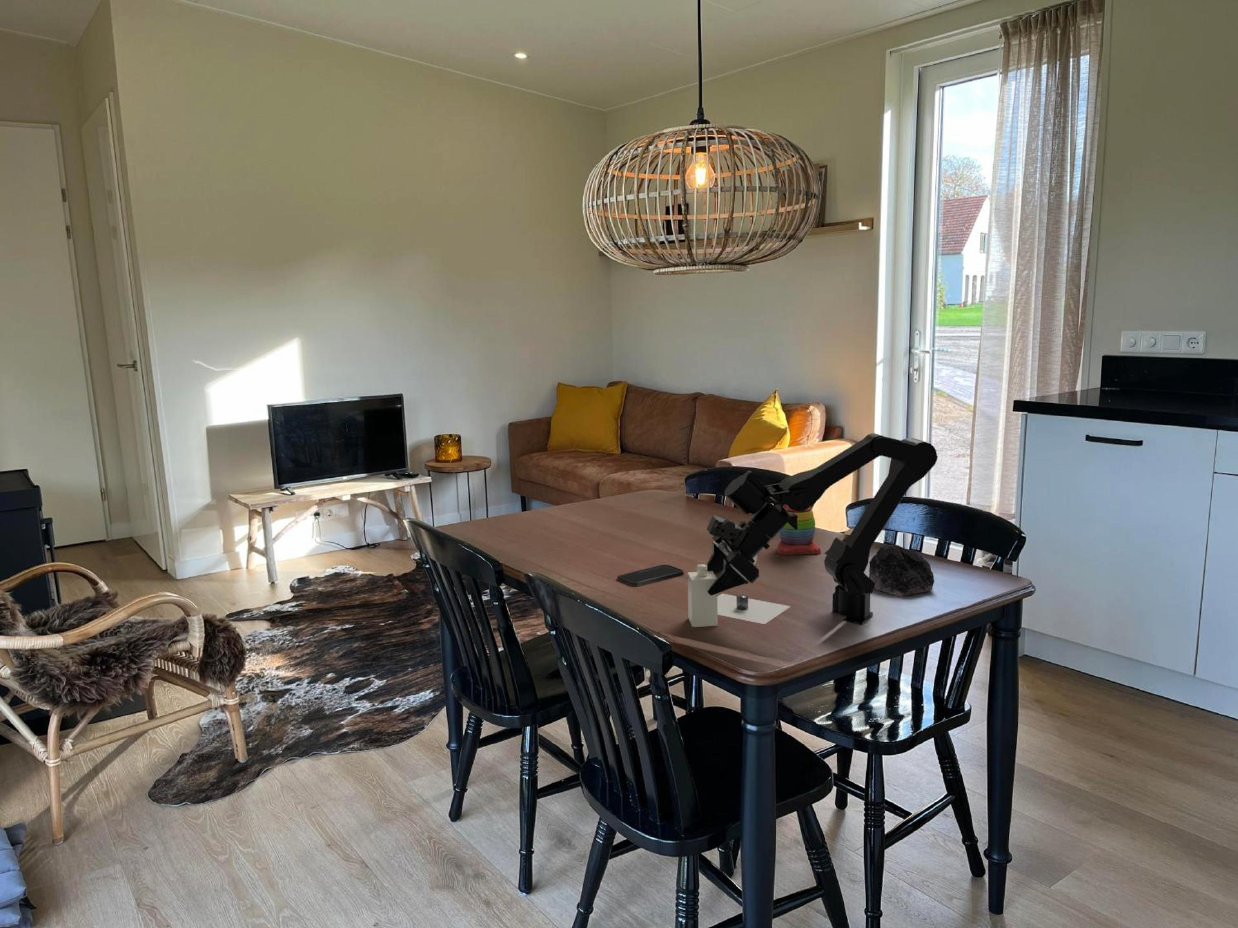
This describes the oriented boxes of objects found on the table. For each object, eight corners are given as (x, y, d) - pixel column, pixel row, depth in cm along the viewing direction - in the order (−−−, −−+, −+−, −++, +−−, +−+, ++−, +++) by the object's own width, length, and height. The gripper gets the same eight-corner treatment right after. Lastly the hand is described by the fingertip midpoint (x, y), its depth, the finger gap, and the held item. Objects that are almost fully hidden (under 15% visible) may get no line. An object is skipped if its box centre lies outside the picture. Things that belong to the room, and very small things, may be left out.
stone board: (790, 610, 178) (790, 606, 178) (764, 628, 169) (764, 624, 168) (722, 597, 187) (722, 593, 187) (694, 614, 178) (694, 609, 178)
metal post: (750, 607, 178) (750, 595, 178) (744, 610, 176) (744, 599, 176) (739, 605, 179) (739, 593, 179) (734, 608, 178) (734, 597, 177)
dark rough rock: (942, 600, 184) (946, 554, 183) (879, 596, 184) (883, 550, 183) (920, 585, 198) (924, 542, 197) (861, 582, 198) (865, 539, 197)
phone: (686, 571, 205) (634, 583, 197) (686, 575, 205) (634, 588, 197) (665, 563, 211) (615, 575, 203) (665, 568, 212) (615, 580, 203)
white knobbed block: (713, 621, 174) (712, 561, 171) (717, 630, 169) (717, 568, 166) (688, 622, 173) (687, 562, 171) (692, 631, 168) (691, 570, 166)
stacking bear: (780, 555, 218) (780, 487, 215) (772, 545, 228) (772, 479, 225) (822, 554, 218) (823, 485, 215) (812, 543, 228) (813, 477, 225)
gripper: (722, 492, 176) (669, 546, 177) (742, 513, 158) (682, 573, 159) (760, 528, 178) (707, 581, 179) (784, 552, 160) (725, 612, 161)
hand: (704, 586), depth 170 cm, fingers open, 9 cm apart
